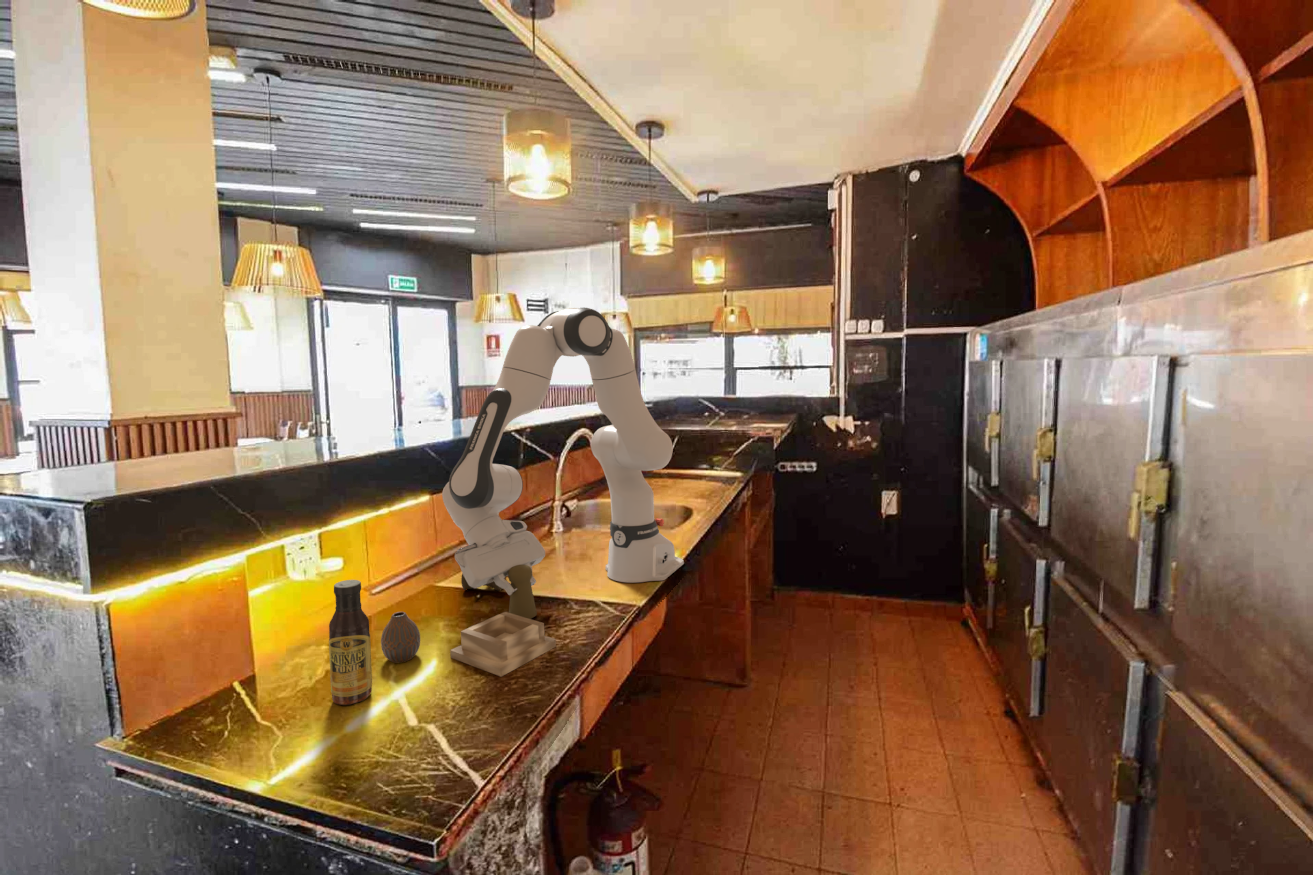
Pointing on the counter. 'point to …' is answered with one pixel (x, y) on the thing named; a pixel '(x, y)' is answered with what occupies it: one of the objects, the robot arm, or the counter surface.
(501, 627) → the shaker holder
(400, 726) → the counter surface
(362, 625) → the sauce bottle
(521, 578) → the cork
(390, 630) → the vase
